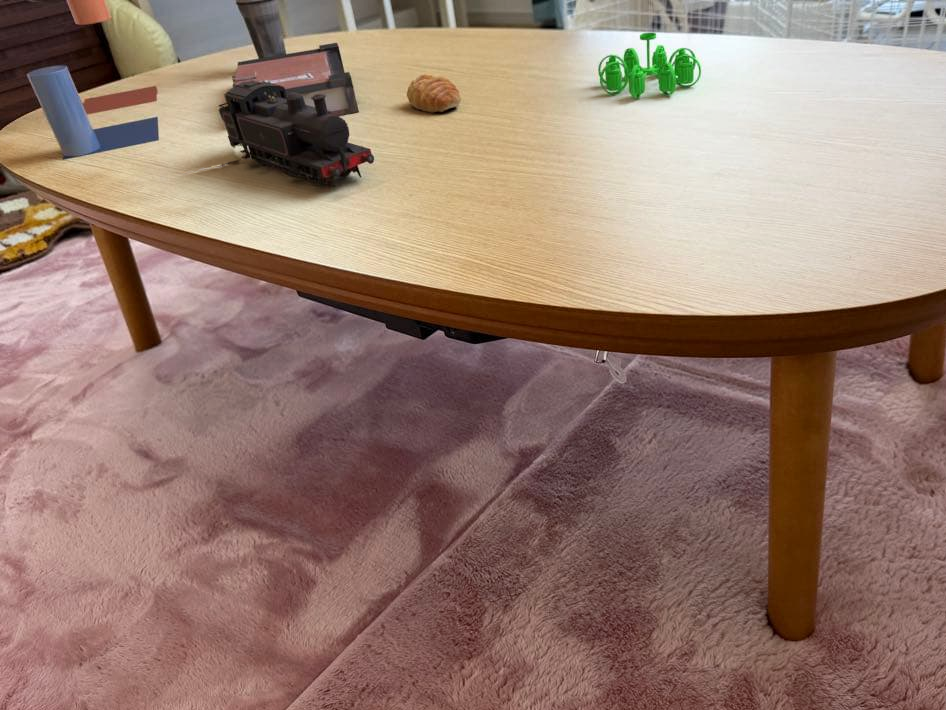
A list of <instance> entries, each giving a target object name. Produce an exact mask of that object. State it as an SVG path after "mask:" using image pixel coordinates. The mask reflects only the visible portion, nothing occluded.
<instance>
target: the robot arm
mask: <svg viewBox="0 0 946 710" xmlns="http://www.w3.org/2000/svg"><path fill="white" fill-rule="evenodd" d="M11 1H12V0H0V5H1V4H4V3H8V2H11ZM27 1H28V2H33V3H44V4H45V3H46V4H57V3H61V2H63V1H64V0H27Z"/></svg>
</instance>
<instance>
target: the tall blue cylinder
mask: <svg viewBox="0 0 946 710" xmlns="http://www.w3.org/2000/svg"><path fill="white" fill-rule="evenodd" d="M26 76H27V79H28V80H29V83H30V85H31V87H32V89H33V91H34V94H35V96H36V98H37V100H38V102H39V103H38V104H39V105H40V107H41V109H42V111H43V114H44V116H45V118H46V120H47V123H48V124H49V127H50V129H51V131H52V133H53V136H54V138H55V140H56V143H57V145H58V146H59V147H58V148H59V149H60V152H61V153H62V155H63V156H65V157H75V158H78V157H77V156H80V157H83V156H82V155H85V156H87V155H86V154H90V153H92V152H95V151H97V150H98V149H100V144H99V142H98V139H97V137H96V134H95V132H94V130H93V129H94V128H93V125H92V123H91V121H90V118H89V114H87V113H86V111H85V108H84V106H83V105H84V103H83V101H82V99H81V97H80V94H79V92H78V89H77V87H76V85H75V82H74V80H73V78H72V76H71V73H70V71H69V67H68V66H67V65H52V66H47V67H42V68H38V69H34V70H31V71H30V72H28V73H27V74H26ZM90 155H91V154H90Z"/></svg>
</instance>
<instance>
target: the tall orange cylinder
mask: <svg viewBox="0 0 946 710" xmlns="http://www.w3.org/2000/svg"><path fill="white" fill-rule="evenodd" d="M66 3H67V5H68V7H69V11H70V12H71V15H72V18H73V20H74V23H75V24H76V25H79V26H82V25H83V26H85V25H92V24H97V23H98V24H99V23H102V22H107V21H109V20H111V19H112V15H111V12H110V9H109V7H108V4H107V1H106V0H66Z"/></svg>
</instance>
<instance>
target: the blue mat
mask: <svg viewBox="0 0 946 710" xmlns="http://www.w3.org/2000/svg"><path fill="white" fill-rule="evenodd" d="M93 130H94V132H95V134H96V137H97V139H98V142H99V144H100V149H98V150H97V151H95V152H92V153H90V154H86V155H82V156H77V157H65V156H64V155H63V156H62V161H65V160H70V159H73V158H74V159H75V158H81V157H84V156H91V155H94V154H99V153H104V152H108V151H113V150H118V149H125V148H129V147H134V146H137V145H142V144H147V143H152V142H153V143H154V142H158V141H160V134H159V132H160V131H159V117H158V116H154V117H149V118H144V119H139V120H134V121H129V122H124V123H123V122H122V123H118V124H114V125H108V126H105V127H104V126H103V127H99V128H93Z"/></svg>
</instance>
